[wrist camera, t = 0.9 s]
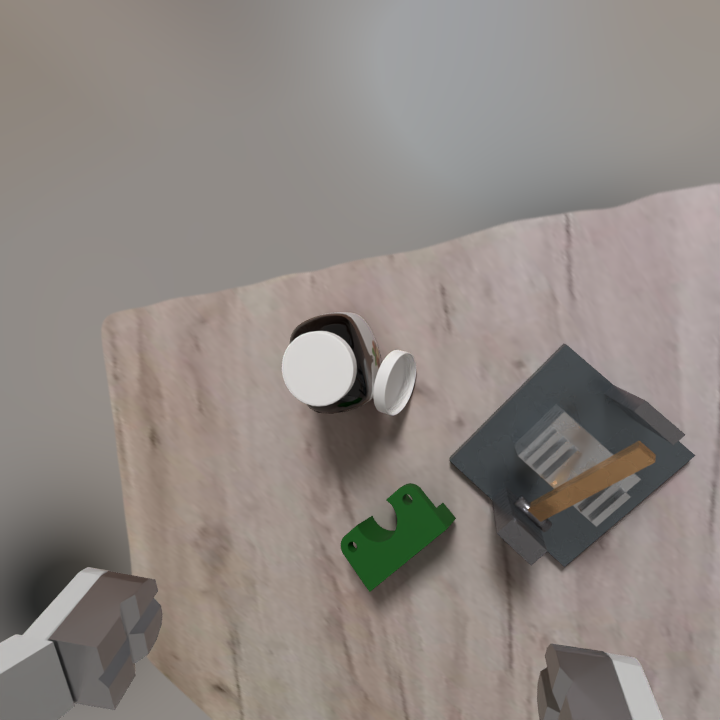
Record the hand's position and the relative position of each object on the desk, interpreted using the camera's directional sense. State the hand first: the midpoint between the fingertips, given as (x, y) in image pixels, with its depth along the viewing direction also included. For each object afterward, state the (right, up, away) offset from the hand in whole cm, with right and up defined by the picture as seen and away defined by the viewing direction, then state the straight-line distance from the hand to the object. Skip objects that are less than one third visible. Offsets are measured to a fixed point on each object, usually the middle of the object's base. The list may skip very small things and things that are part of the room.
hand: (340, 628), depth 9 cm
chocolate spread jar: (+1, +5, +43) cm, 43 cm away
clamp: (+5, -13, +44) cm, 46 cm away
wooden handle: (+20, -5, +31) cm, 37 cm away
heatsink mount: (+22, -4, +39) cm, 45 cm away
